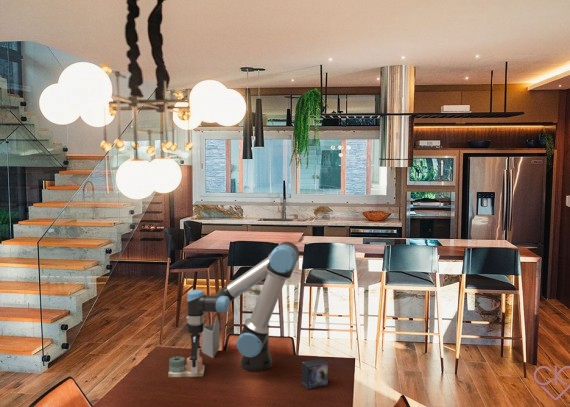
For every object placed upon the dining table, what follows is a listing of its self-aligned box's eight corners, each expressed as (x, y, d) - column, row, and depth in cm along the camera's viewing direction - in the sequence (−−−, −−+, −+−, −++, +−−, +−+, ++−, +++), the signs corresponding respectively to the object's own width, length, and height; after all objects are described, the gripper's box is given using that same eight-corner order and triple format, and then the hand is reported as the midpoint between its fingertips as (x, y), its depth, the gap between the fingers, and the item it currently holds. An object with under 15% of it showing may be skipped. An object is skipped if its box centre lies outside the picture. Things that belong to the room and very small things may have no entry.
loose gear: (202, 366, 249) (202, 356, 249) (201, 371, 242) (201, 361, 242) (187, 366, 249) (187, 356, 248) (186, 372, 242) (186, 361, 242)
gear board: (204, 368, 251) (204, 354, 251) (203, 376, 241) (203, 362, 241) (170, 368, 250) (170, 355, 249) (168, 377, 240) (168, 363, 239)
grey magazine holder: (205, 346, 281) (205, 311, 280) (219, 347, 281) (219, 311, 280) (198, 357, 265) (198, 320, 264) (213, 358, 265) (213, 320, 263)
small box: (307, 390, 227) (308, 366, 227) (300, 384, 233) (300, 361, 232) (328, 385, 232) (328, 362, 232) (320, 380, 238) (321, 358, 237)
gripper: (189, 315, 256) (189, 358, 258) (184, 331, 231) (184, 378, 233) (205, 315, 257) (205, 357, 258) (201, 331, 232) (201, 378, 234)
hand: (195, 367), depth 246 cm, fingers open, 13 cm apart
